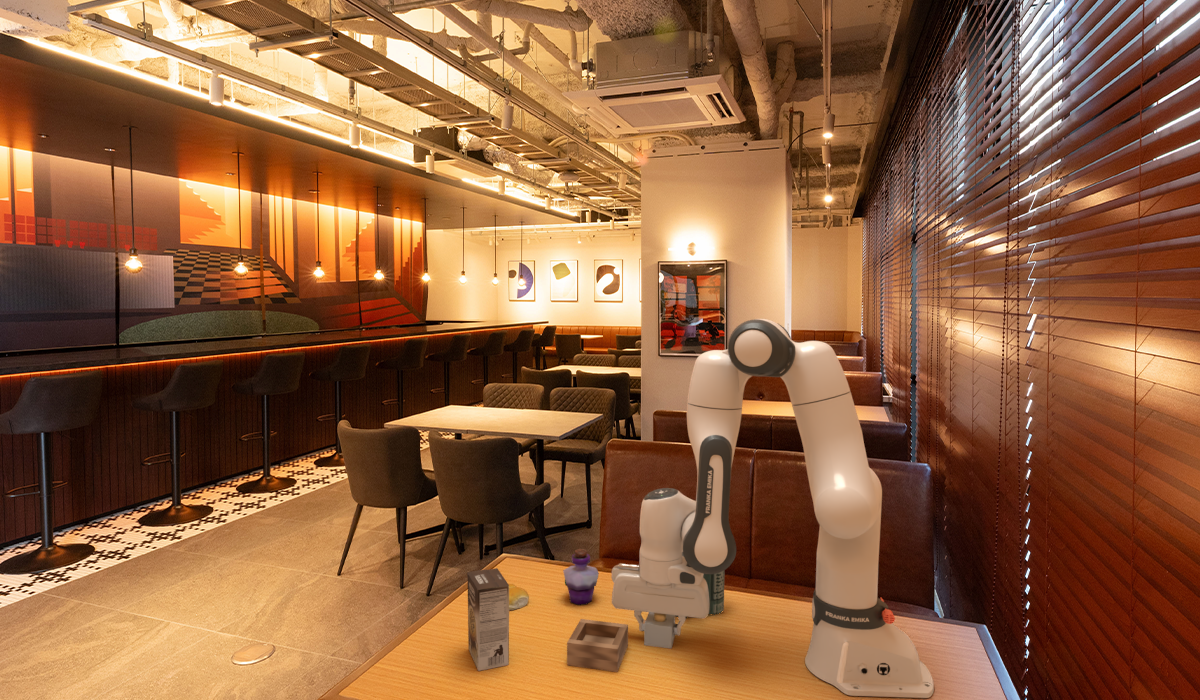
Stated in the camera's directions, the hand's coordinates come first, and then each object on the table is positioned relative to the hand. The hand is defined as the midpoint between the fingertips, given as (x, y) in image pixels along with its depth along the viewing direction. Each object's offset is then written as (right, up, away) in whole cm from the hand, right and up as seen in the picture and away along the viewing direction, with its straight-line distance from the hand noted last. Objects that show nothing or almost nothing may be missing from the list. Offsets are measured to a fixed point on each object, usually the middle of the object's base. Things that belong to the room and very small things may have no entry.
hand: (659, 632), depth 137 cm
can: (+13, -1, +14) cm, 19 cm away
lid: (0, -2, 0) cm, 2 cm away
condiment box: (-13, -2, -6) cm, 14 cm away
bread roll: (-34, -1, +17) cm, 38 cm away
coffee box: (-35, -2, -7) cm, 35 cm away
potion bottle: (-17, -1, +19) cm, 25 cm away
